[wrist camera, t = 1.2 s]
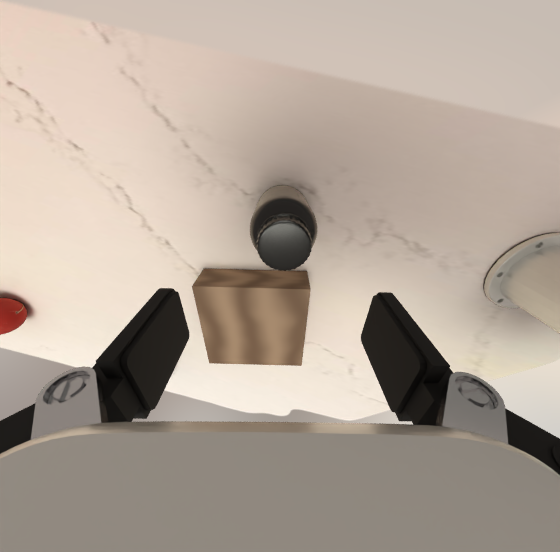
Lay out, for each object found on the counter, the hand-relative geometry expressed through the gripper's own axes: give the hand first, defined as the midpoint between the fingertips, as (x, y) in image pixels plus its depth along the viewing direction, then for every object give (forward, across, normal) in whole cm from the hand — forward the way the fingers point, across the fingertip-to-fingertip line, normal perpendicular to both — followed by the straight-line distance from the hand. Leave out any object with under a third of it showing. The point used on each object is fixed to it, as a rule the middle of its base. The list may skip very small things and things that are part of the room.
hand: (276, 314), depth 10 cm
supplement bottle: (+21, -1, 0) cm, 21 cm away
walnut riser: (+21, +3, +17) cm, 27 cm away
